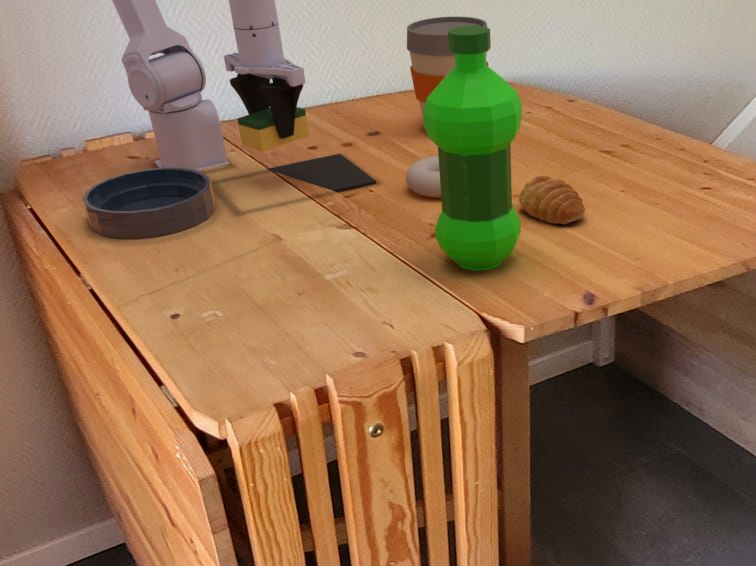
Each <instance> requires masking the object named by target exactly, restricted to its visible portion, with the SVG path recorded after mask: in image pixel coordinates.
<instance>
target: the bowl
mask: <svg viewBox="0 0 756 566" xmlns="http://www.w3.org/2000/svg"><path fill="white" fill-rule="evenodd" d="M81 201H82V204H83V207H84V211H85V214H86V217H87V220H88V224H89V226H90V228H91V229H92V231H93V232H95V233H97V234H99V235H101V236H103V237H108V238H113V239H118V240H119V239H120V240H121V239H122V240H123V239H124V240H140V239H150V238H158V237H163V236H167V235H171V234H176V233H179V232H182V231H185V230H188V229H190V228H194V227H196V226H198V225H200V224H202V223H203V222H205V221H207V220H208V219H209V218H211V216H212V215H213V214H214V213H215V212H216V205H217V203H216V199H215V194H214V189H213V184H212V179H210V177H209V176H208V175H207V174H206V173H204V172H201V171H200V170H191V169H184V168H159V167H156V168H147V169H139V170H134V171H129V172H126V173H122V174H118V175H115V176H112V177H108V178H106V179H104V180H101V181H100V182H97V183H96V184H94V185H92V186H91V187H90V188H88V189H87V190H86V191H85V192H84V194H83V196H82V199H81Z"/></svg>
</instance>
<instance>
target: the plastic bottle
mask: <svg viewBox="0 0 756 566" xmlns="http://www.w3.org/2000/svg"><path fill="white" fill-rule="evenodd" d="M448 41H449V51H450V52H452V53H454V54H455V67H454V68H453V70H452V71H451V72H450V73H449V74H448V75H447V76H446V77H445V78H444V79H443V80H442V81H441V82H440V83H439V85H438V86H437V87H436V88H435V89H434V91H433V92H432V93H431V94H430V95H429V96H428V98H427V99H426V103H425V107H424V110H423V115H424V122H423V126H424V125H425V127H424V130H425V129H426V131H425V133H426V135H427V137H428V138H429V139H430V140H431V141H432V143H434V145H436V146H437V153H438V156H439V171H440V185H441V198H440V199H441V212H440V214H439V216H438V217H437V218H438V219H437V220H436V224H435V228H434V229H435V230H434V231H435V232H434V233H435V240H436V242H437V244H438V246H439V248H440V249H441V251H443V253H444V254H446V255H447V256H448V257H449V259H451V260H452V261H453V262H454V263H456V264H457V265H458V266H459V267H461V269H465V270H467V271H468V270H469V271H471V272H479V271H480V272H481V271H489V270H493V269H494V268H497V267H499V266H500V265H501V264H502V262H504V261H505V260H506V259H507V258H509V256H510V255H512V253H513V252H514V249H515V247H516V245H517V243H518V241H519V237H520V235H521V228H522V227H521V225H522V224H521V219H520V218H519V215H518V213H517V211H516V209H515V207H514V206H513V197H512V196H513V194H512V193H513V191H512V189H513V188H512V156H511V155H512V150H511V148H512V147H511V146H512V145H511V143H513V141H514V139H515V138H516V136H517V135H518V133H519V131H520V129H521V124H522V119H523V118H522V117H523V105H522V101H521V98H520V96H519V93H518V91H517V90H515V88H514V87H512V85H510V83H508V82H507V81H506V80H505V79H504V78H503V77H502V76H501V75H499V74H498V73H497V72H496V71H494V69H492V67H489V65H488V66H487V65H486V61H487V55H486V51H487V52H489V51H490V50H491V48H492V47H491V45H492V44H491V29H490V28H489V27H488V26H487V27H485V26H460V27H456V28H452V29H450V30H449V31H448Z"/></svg>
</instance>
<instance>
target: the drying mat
mask: <svg viewBox="0 0 756 566" xmlns="http://www.w3.org/2000/svg"><path fill="white" fill-rule="evenodd" d="M266 170H267V171H270V172H273V173H276V174H280V175H282V176H286V177H289V178H291V179H294V180H297V181H302V182H305V183H307V184H310V185H314V186H317V187H320V188H323V189H326V190H329V191H332V192H335V193H340V192H344V191H349V190H353V189H358V188H364V187H367V186H372V185H376V184H377V180H376V179H374V178H373V177H372V176H370V175H369V174H368V173H366V172H365V171H364V170H363V169H361V168H360V167H358V166H357V165H356V164H355V163H353V162H352V161H351V160H350V159H348V158H347V157H346V156H344V155H343V154H341V153H335V154H331V155H326V156H321V157H316V158H311V159H308V160H302V161H298V162H292V163H287V164H282V165H278V166H274V167H269V168H266Z"/></svg>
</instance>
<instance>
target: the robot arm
mask: <svg viewBox="0 0 756 566" xmlns="http://www.w3.org/2000/svg"><path fill="white" fill-rule="evenodd" d="M111 1H112V4H113V5H114V8H115V10H116V13H117V14H118V17H119V19H120V21H121V23H122V26H123V28H124V30H125V31H126V35H127V36H128V38H129V41H128V43H127V45H126V48H125V50H124V52H123V54H122V56H121V63H122V65H123V67H124V70H125V73H126V76H127V82H128V83H127V84H128V87H129V91H130V93H131V95H132V96H133V98H134V99H135V101H136V102H137V103H138V104H139V105H140V106H141V107H142V108H143V109H142V110H144V111H146V112H147V111H148V115H149V120H150V123H151V127H152V131H153V135H154V139H155V143H156V148H157V152H158V155H159V159H157V160H155V161H154V163H155V165H156V166H157V168H184V169H191V170H196V171H200V170H206V169H211V168H214V167H220V166H224V165H229V164H230V162H229V159H228V154H227V150H226V144H225V140H224V134H223V130H222V124H221V119H220V117H219V114H218V110H217V108H216V106H215V104H214V102H213V100H211V99H209V98H208V99H203V96H202V92H203V91H204V90H205V87H206V83H207V77H206V71H205V67H204V65H203V63H202V61H201V60H200V58H199V57H198V55H197V54H196V53H195V52H194V51H193V49H192V48H191V46H190V44H189V42H188V40H187V37H186V36H184V35H183V34H181V33H180V32H178V31H176V30H175V29H173V28H171V27H169V26H168V25H167V23H166V21H165V19H164V16H163V14H162V12H161V10H160V8H159V5H158V3H157V1H156V0H111ZM228 5H229V9H230V10H229V11H230V15H231V20H232V25H233V31H234V36H235V37H234V38H235V42H236V47H237V52H232V53H229V54H225V55H223V60H224V66H225V69H226V71H227V72H231V73H232V72H234V73H236V77H235V76H234V77H232V78H230V79H229V85H230V86H231V87H232V88H233V90H234V91H235V92H236V94H237V95H238V97H239V98H240V100H241V101H242V103H243V105H244V107H245V109H246V111H247V113H248V114H247V115H250V114H253V113H256V112H259V111H262V110H266V109H269V108H270V109H271V112H272V115H273V119H274V123H275V127H276V130H277V133H278V136H279V138H281V139H284V138H287V137H290V136H292V135H294V125H295V114H296V107H298V102H299V99H300V96H301V93H302V90H303V88H304V84H306V77H305V70H304V67H302V66H299V65H296V63H295V64H294V63H293V62H292V61H290V60H288V59H287V58H285V54H284V47H283V43H282V36H281V29H280V24H279V18H278V11H277V6H276V0H228ZM157 54H162V55H160V56H156V57H153V58H151V59H150V57H151V56H155V55H157ZM271 81H272V82H271Z"/></svg>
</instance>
